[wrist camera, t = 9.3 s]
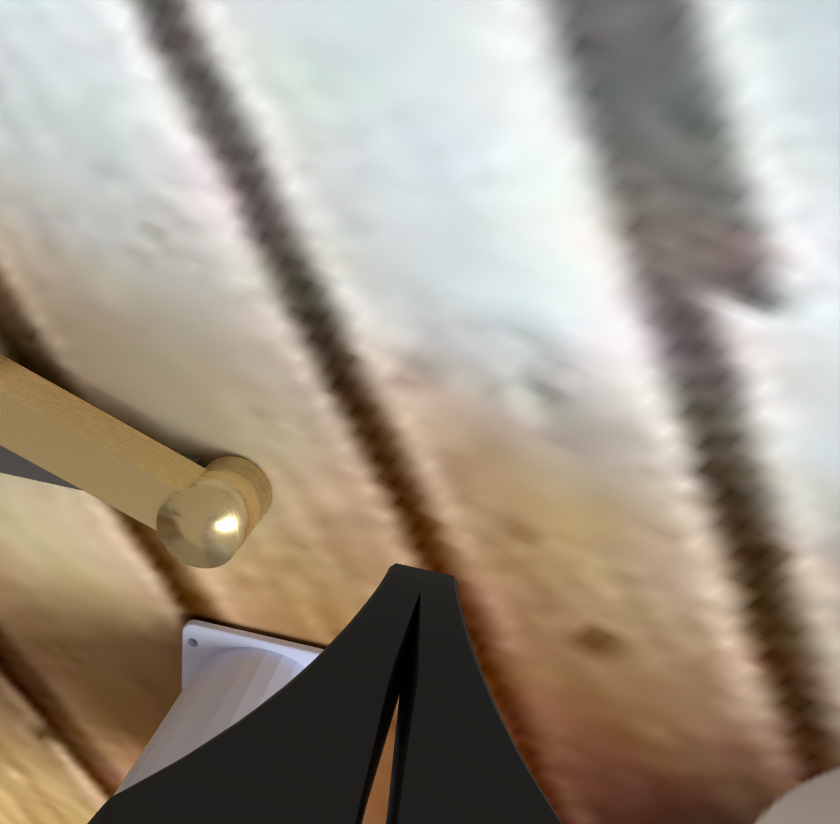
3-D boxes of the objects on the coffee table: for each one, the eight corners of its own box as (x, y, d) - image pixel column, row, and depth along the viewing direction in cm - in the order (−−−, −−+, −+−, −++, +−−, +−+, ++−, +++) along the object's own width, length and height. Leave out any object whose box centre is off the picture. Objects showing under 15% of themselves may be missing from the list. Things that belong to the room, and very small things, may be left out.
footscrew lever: (283, 480, 21) (251, 521, 19) (254, 535, 22) (219, 582, 20) (-54, 290, 20) (-144, 302, 18) (-68, 357, 22) (-155, 378, 19)
